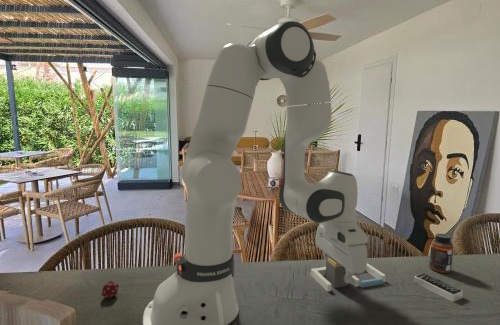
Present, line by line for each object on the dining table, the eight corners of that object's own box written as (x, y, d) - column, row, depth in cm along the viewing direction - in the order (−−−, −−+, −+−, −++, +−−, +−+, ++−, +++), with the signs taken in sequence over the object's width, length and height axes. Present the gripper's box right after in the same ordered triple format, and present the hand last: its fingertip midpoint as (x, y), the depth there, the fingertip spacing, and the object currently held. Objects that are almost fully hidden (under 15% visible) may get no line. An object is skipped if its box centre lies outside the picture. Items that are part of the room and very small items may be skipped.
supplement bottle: (454, 275, 92) (458, 239, 91) (433, 273, 93) (436, 238, 92) (446, 266, 98) (449, 232, 96) (426, 264, 99) (429, 231, 98)
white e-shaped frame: (329, 293, 81) (329, 286, 81) (310, 275, 91) (310, 268, 91) (387, 283, 87) (387, 276, 87) (364, 267, 97) (364, 261, 96)
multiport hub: (453, 303, 78) (453, 295, 78) (413, 283, 88) (414, 276, 87) (462, 299, 80) (463, 290, 80) (423, 280, 90) (423, 272, 89)
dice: (100, 302, 76) (99, 287, 76) (105, 293, 80) (104, 279, 80) (116, 301, 77) (115, 286, 76) (120, 291, 81) (119, 277, 81)
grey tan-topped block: (334, 288, 84) (335, 264, 83) (325, 280, 88) (326, 257, 88) (347, 285, 85) (349, 262, 85) (338, 278, 90) (339, 255, 89)
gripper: (311, 217, 94) (310, 259, 96) (351, 241, 74) (348, 294, 76) (329, 215, 96) (327, 257, 97) (372, 239, 76) (369, 290, 78)
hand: (337, 273), depth 87 cm, fingers open, 8 cm apart
